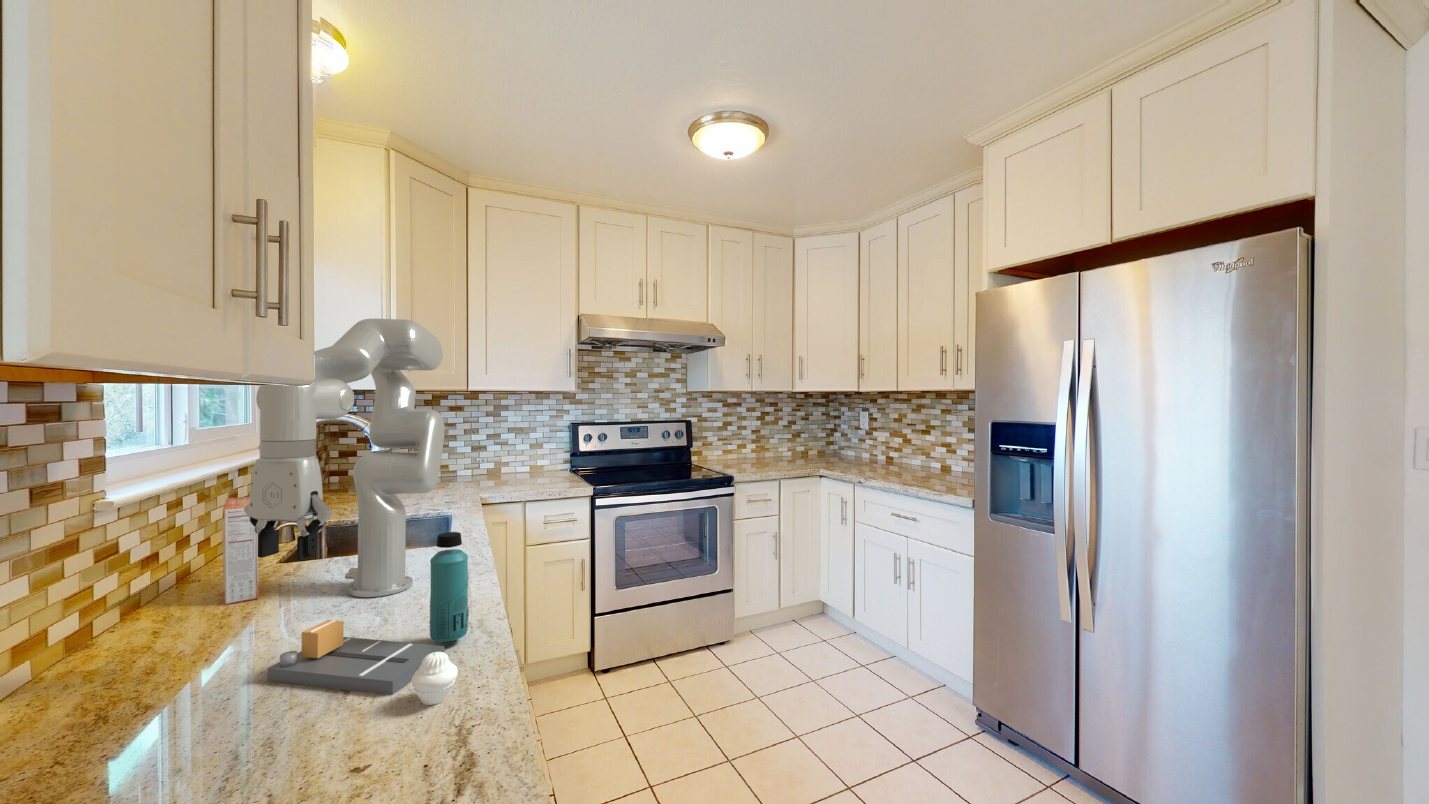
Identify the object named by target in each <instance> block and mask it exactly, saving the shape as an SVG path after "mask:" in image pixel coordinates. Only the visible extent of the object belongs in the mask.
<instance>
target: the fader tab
mask: <svg viewBox="0 0 1429 804" xmlns="http://www.w3.org/2000/svg"><path fill="white" fill-rule="evenodd" d="M343 637H344V620H336V619H333V620H332V619H327V620H325V621H322V622H321V623H318V624H316V625H314V626H311V627H310V628H308V629H305V630H303V631H301V651H302V657H309V658H319V657H321V656H323V655H325V654H327V653H329V652H331V651H332V650H334V649H336V648H338V647H340V646H342V645H343Z"/></svg>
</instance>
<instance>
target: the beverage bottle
mask: <svg viewBox="0 0 1429 804" xmlns="http://www.w3.org/2000/svg"><path fill="white" fill-rule="evenodd" d="M436 538H437V540H436V547H437V548H443V549H444V550H441V551H440V550H439V551H438V552H437V553H436V554H434V555H433V556H432V557H431V558H430V562H429V563H430V595H429V596H430V597H429V612H428V613H429V623H428V625H429V628H428V629H429V636H430V638H431V640H432V641H434V642H438V643H439V642H440V643H444V642H445V643H446V642H452V641H456V640H458V639H462V638H463V637H465V636H466V635H467V633H468V630H469V619H470V618H469V615H470V614H469V610H470V609H469V601H468V600H469V597H468V595H469V591H468V590H469V579H470V577H469V576H470V575H469V569H468V568H469V565H468V559H469V556H468V554H467V553H466V552H465V551H464V550H461V549H458V548H457V549H456V547H459V546H461V545H462V544H463V542H462V533H461V532H459V531H447V532H442V533H439V534H438V535H437V537H436ZM454 547H455V548H454ZM446 548H447V549H446ZM448 548H451V549H448ZM452 548H453V549H452Z"/></svg>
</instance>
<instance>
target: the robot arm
mask: <svg viewBox="0 0 1429 804" xmlns="http://www.w3.org/2000/svg"><path fill="white" fill-rule="evenodd" d="M442 348H443V347H442V345H441V342H440V340H438V338H437V337H436V336H435V335H434V334H432V333H431V332H430V331H429V330H428V329H427V328H425V327H424V326H422V324H419V323H418V322H415V321H413V320H409V319H403V318H402V319H400V318H399V319H397V318H396V319H395V318H365V319H362V320H359V321H357V322H356V323H354V325H353V326H351V328H349V329H348V330H347V331H346V332H345V333H344V334H343V335H342V336H341V337H340V338H339V339H337V341H335V342H334V343H333V344H332V345H331V346H327V347H324V348H323V347H322V348H321V349H317V350H314V351H313V352H314V355H315V379H314V383H313V384H310V385H306V386H283V385H261V384H260V385H259V387H258V389H257V391H256V396H255V399H256V405H257V407H258V409H259V445H258V450H259V459H256V460H255V461H254V462H255V463H254V465H253V469H252V475H251V479H250V487H249V496H248V497H249V504H248V505H247V506H246V507H245V508H244V511H245V513H246V514H247V516H248V517H249V518H250V522H251V523H252V524H253V526H254V527H255V529H254V531H255V533H257V534H258V559H259V558H260V559H261V558H266V557H269V556H273V555H277V554H278V553H279V552H280V547H279V546H280V532H279V529H276V528H277V525H278V524H279V522H295V523H296V526H297V528H298V531H299V533H300V535H298V536H297V538H296V559H297V560H298V561H304V560H307V559H310V558H311V559H312V558H313V557H316V556H317V555H318V533H320V532H321V531H322V528H323V527H324V526H325V525H326V524H327V521H328V520H329V519H330V517H332V515H333V513H334V511H333V510H332V509H331V508H330V507H329V506H328V505H327V503H325V502H324V499H323V498H324V497H323V495H324V494H323V481H322V480H323V479H322V473H321V466H320V462H319V459H318V458H317V420H336V419H340V418H343V417H344V416H346V415H348V414H349V412H351V410H352V409H353V406H354V404H355V394H354V391H353V389H352V387H351V386H350V385H349V384H351V383H353V382H358V381H361V380H363V379H365V378H367V377H368V376H369V375H371V377H372V380H373V382H374V386H375V396H374V397H375V398H374V403H373V408H372V414H371V419H370V424H369V430H368V431H369V435H368V436H369V440H370V443H371V444H372V445H373V446H375V447H377V448H383V449H417V452H400V451H399V452H398V451H395V452H394V451H393V452H392V451H391V452H389V451H388V452H386V451H385V452H380V451H379V452H372V453H368V454H364V455H363V456H361V457H360V458H359V459H357V460H356V462H355V464H354V466H353V481H354V487H355V491H356V492H355V493H356V498H357V511H358V512H357V523H358V524H357V567H350V568H349V569H348V572H346V573H345V575H344V579H347V580H353V584H352V585H350V586H349V594H350V595H351V596H353V597H358V598H375V597H377V598H378V597H385V596H391V595H394V594H398V593H400V592H403V591H406V590H408V589H410V588H411V587H412V585H413V581H414V580H413V578H412V577H410V576H409V575H406V557H407V555H406V554H407V553H406V549H407V548H406V547H407V546H406V544H407V542H406V541H407V539H406V538H407V536H406V535H407V530H406V529H407V512H406V511H407V510H406V507H405V506H404V504H403V502H402V500H401V499H400V498H399V497H398V495H399V494H425V493H429V492H432V491H433V490H434V489H435V488H436V487H437V485H438V481H439V478H440V471H441V463H442V457H443V449H444V442H445V430H446V429H445V421H444V418H443V416H442V415H441V413H440V412H439V411H437V410H436V409H435V410H434V409H431V408H430V409H428V408H415V406H416V398H417V397H416V396H417V391H416V388H415V386H414V385H413V384H412V382H411V381H410V380H409V378H408V377H407V376H406V375H405V374H404V373H403V372H402V371H423V372H424V371H426V372H427V371H433V370H436V369H437V368H439V366H440V365H441V363H442V360H443V357H444V356H443V349H442ZM307 521H308V523H309V524H308V525H307ZM405 589H406V590H405Z"/></svg>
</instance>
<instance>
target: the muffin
mask: <svg viewBox="0 0 1429 804" xmlns="http://www.w3.org/2000/svg"><path fill="white" fill-rule="evenodd" d="M458 675H459V671H458V667H457V666H456V664H454V663H452V661H450V659H449V656H448V654H447V653H445V651H444V652H435V653H434V652H433V653H430V654H429V655H427V656H426V657H425V658H424V659H423V660H422V665H421V666H420V667H419V669H418V670H417V671H416V672H415V673H414V675H413V677H412V680H411V682H410V683H411V686H412V687H413V690H414V692H415V694H416V695H417V697H418V698H419V700H420V701H421V703H422V704H423V705H426V706H435V705H439V704H441V703H442V702H444V701H445V700H446V699H448V697H449V694H450V693H451V691H452V689H453V687H454V684H455V683H456V679H457V677H458Z"/></svg>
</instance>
